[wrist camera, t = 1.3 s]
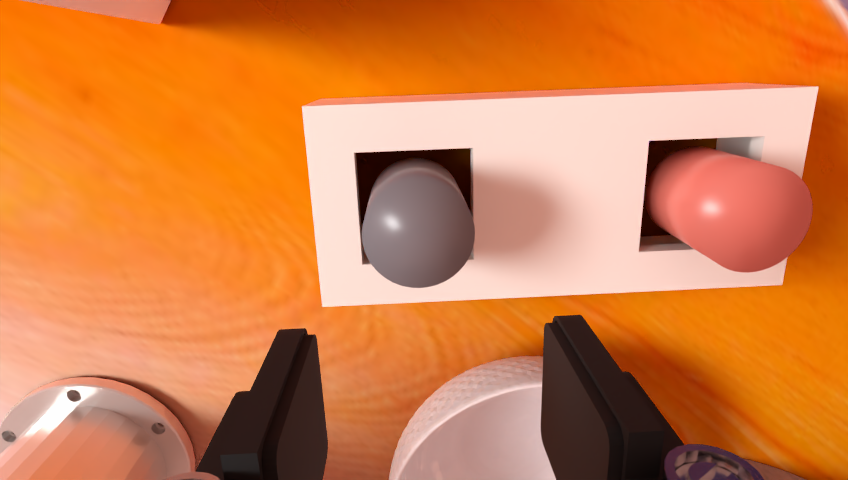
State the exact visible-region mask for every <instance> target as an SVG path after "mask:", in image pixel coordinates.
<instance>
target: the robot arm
mask: <svg viewBox="0 0 848 480" xmlns="http://www.w3.org/2000/svg"><path fill="white" fill-rule="evenodd" d="M541 438H542V442H543V446H544V448H545V451H546V454H547V456H548V459H549V462H550V465H551V467H552V470H553V473H554V475H555V478H556V480H764V479H763V477H762V476H761V474H760V473H759V472H758V470H756V469H755V468H754V467H753V466H752V465H751V464H749V463H748V462H747V461H746V460H744V459H742V458H740V457H739V456H737V455H735V454H733V453H731V452H728V451H726V450H723V449H720V448H717V447H712V446H708V445H702V444H688V445H684V444H683V442H682V441H681V440H680V438H679V437H678V436H677V434H676V433H675V432H674V430H673V429H672V428H671V426H670V425H669V424H668V422H667V421H666V420H665V418H664V417H663V416H662V414H661V413H660V411H659V410H658V409H657V407H656V406H655V405H654V403H653V402H652V401H651V399H650V398H649V397H648V395H647V394H646V393H645V391H644V390H643V389H642V387H641V386H640V385H639V383H638V382H637V381H636V379H635V378H634V377H633V376H632V375H631V374H630V373H629V372H622V371H621V370H620V368H619V367H618V365H617V364H616V363H615V361H614V360H613V359H612V357H611V356H610V354H609V353H608V352H607V350H606V349H605V347H604V346H603V345H602V343H601V342H600V340H599V339H598V338H597V336H596V335H595V334H594V332H593V331H592V329H591V328H590V327H589V325H588V324H587V322H586V321H585V320H584V318H583V317H582V316H581V315H570V316H555V317H554V318H553V322H552V323H546V324H545V327H544V348H543V374H542V401H541ZM327 450H328V440H327V430H326V421H325V411H324V402H323V393H322V383H321V374H320V365H319V356H318V346H317V338H316V335H308V334H307V330H306V329H305V328H304V329H284V330H279V331H278V332H277V335H276V337H275V339H274V341H273V343H272V345H271V347H270V350H269V352H268V354H267V356H266V358H265V360H264V362H263V364H262V367H261V369H260V371H259V373H258V375H257V377H256V379H255V381H254V384H253V386H252V388H251V390H250V391H241V392H237V393H236V394H235V396H234V397H233V399H232V401H231V403H230V405H229V407H228V409H227V411H226V413H225V415H224V417H223V419H222V421H221V423H220V424H219V426H218V428H217V430H216V432H215V434H214V436H213V438H212V440H211V442H210V444H209V446H208V448H207V450H206V452H205V454H204V456H203V458H202V460H201V462H200V464H199V466H198V468H197V470H196V471H195V456H194V451H193V446H192V444H191V441H190V439H189V437H188V434H187V432H186V430H185V429H184V428H183V426H182V425H181V423H180V422H179V420H178V419H177V418H176V417H175V416H174V415H173V414H172V413H171V412H170V411H169V410H168V409H167V408H166V407H165V406H164V405H163V404H162V403H160V402H159V401H157V400H156V399H155V398H153V397H152V396H150V395H149V394H147V393H145V392H143V391H141V390H139V389H137V388H135V387H133V386H130V385H127V384H124V383H120V382H117V381H114V380H109V379H102V378H95V377H74V378H68V379H63V380H57V381H54V382H51V383H49V384H46V385H43V386H41V387H39V388H37V389H36V390H34V391H33V392H31V393H29V394H28V395H26V396H25V397H24V398H23V399H22V400H21V401H20V402H19V403H17V404H16V405H15V406H14V407H13V408H12V409H11V410H10V411H9V412H8V414H7V415H6V416H5V418H4V419H3V420H2V422H1V424H0V480H322V479H323V474H324V469H325V464H326V459H327Z"/></svg>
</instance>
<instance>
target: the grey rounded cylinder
mask: <svg viewBox="0 0 848 480" xmlns="http://www.w3.org/2000/svg"><path fill="white" fill-rule="evenodd" d="M474 241H475V227H474V222H473V218H472V215H471V212H470V210H469V208H468V206H467V204H466V202H465V200H464V197H463V195H462V193H461V191H460V189H459V187H458V185H457V183H456V181H455V179H454V177H453V176H452V175H451V173H450V172H449V171H448V170H447V169H445V168H444V167H443V166H442V165H440V164H438V163H437V162H434V161H432V160H429V159H425V158H406V159H402V160H399V161H397V162H395V163H393V164H391V165H389V166H388V167H387V168H385V169H384V170H383V171H382V172H381V173H380V175H379V176H378V177H377V179H376V181H375V182H374V185H373V187H372V190H371V194H370V198H369V202H368V206H367V210H366V214H365V218H364V222H363V227H362V242H363V247H364V251H365V253H366V256H367V258H368V260H369V261H370V263H371V265H372V266H373V267H374V268H375V270H376V271H377V272H379V273H380V274H381V275H382V276H383V277H385V278H386V279H388V280H389V281H391V282H393V283H396V284H398V285H401V286H405V287H411V288H425V287H431V286H435V285H438V284H440V283H443V282H445V281H447V280H448V279H450V278H451V277H453V276H454V275H455V274H456V273H458V272H459V271H460V270H461V268H462V267H463V266H464V265H465V263H466V262H467V260H468V259H469V257H470V255H471V252H472V249H473V246H474Z"/></svg>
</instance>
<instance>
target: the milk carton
mask: <svg viewBox="0 0 848 480" xmlns="http://www.w3.org/2000/svg"><path fill="white" fill-rule="evenodd" d="M22 1H28V2H33V3H39V4H45V5H51V6H57V7H62V8H68V9H74V10H80V11H85V12H91V13H97V14H103V15H108V16H114V17H120V18H126V19H131V20H137V21H143V22H149V23H155V24H160V23H161V21H162V19H163V17H164V15H165V13H166V11H167V8H168V6H169V4H170V2H171V0H22Z"/></svg>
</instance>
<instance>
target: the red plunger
mask: <svg viewBox="0 0 848 480" xmlns="http://www.w3.org/2000/svg"><path fill="white" fill-rule="evenodd" d="M645 205H646V208H647V211H648V214H649V216H650V217H651V219H652V220H653V222H654V223H655V224H656V225H657V226H659V227H660V228H662V229H663V230H665V231H666V232H668V233H670V234H671V235H673V236H674V237H676V238H678V239H679V240H681V241H682V242H684V243H686V244H687V245H689V246H690V247H692V248H694V249H695V250H697V251H698V252H700V253H702V254H703V255H705V256H706V257H708V258H709V259H711V260H713V261H714V262H716V263H717V264H719V265H721V266H722V267H724V268H726V269H729V270H732V271H735V272H747V273H749V272H757V271H761V270H765V269H767V268H770V267H772V266H774V265H776V264H778V263H780V262H781V261H783V260H784V259H785V258H787V257H788V256H789V255H790V254H791V253H792V252H793V251H795V249H796V248H797V247H798V246H799V245H800V243H801V242H802V240H803V239H804V237H805V235H806V233H807V231H808V229H809V226H810V223H811V219H812V211H813V210H812V198H811V195H810V191H809V189H808V187H807V185H806V184H805V183H804V181H803V180H802V179H801V178H800V177H799V176H798V175H797V174H795V173H794V172H792V171H790V170H788V169H786V168H783V167H780V166H776V165H772V164H768V163H765V162H761V161H757V160H753V159H749V158H746V157H742V156H738V155H734V154H731V153H727V152H723V151H719V150H716V149H712V148H708V147H703V146H691V147H686V148H682V149H679V150H677V151H675V152H673V153H671V154H670V155H668V156H667V157H665V158H664V159H663V160H662V161H661V162H660V163H659V164H658V165H657V166H656V167H655V169H654V170H653V172H652V174H651V175H650V177H649V180H648V182H647V186H646V190H645Z"/></svg>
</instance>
